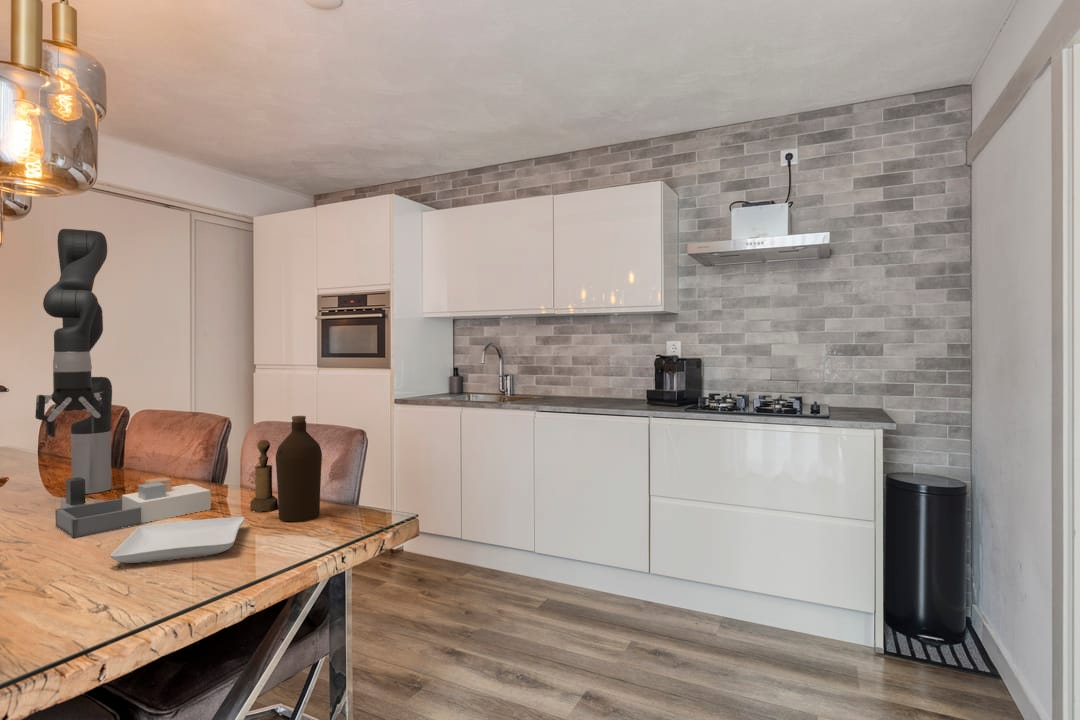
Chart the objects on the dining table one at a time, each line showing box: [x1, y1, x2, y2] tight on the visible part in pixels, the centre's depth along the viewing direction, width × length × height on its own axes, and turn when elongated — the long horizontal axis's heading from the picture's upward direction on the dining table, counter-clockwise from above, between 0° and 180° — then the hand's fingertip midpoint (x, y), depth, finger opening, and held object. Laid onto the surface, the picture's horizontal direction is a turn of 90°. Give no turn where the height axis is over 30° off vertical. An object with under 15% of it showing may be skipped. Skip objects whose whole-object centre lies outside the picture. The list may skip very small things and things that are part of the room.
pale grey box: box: [137, 482, 166, 500], centre depth 147 cm, size 4×4×3 cm
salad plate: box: [110, 516, 246, 564], centre depth 125 cm, size 21×21×3 cm
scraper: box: [60, 477, 87, 508], centre depth 150 cm, size 16×3×9 cm, turn 51°
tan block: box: [144, 476, 172, 492], centre depth 152 cm, size 4×4×3 cm
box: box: [55, 497, 142, 539], centre depth 140 cm, size 14×13×4 cm
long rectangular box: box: [121, 483, 212, 524], centre depth 151 cm, size 12×16×5 cm
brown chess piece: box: [249, 439, 278, 513], centre depth 154 cm, size 7×6×18 cm
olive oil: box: [275, 415, 323, 522], centre depth 147 cm, size 11×11×25 cm
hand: (73, 434), depth 149 cm, fingers open, 8 cm apart
